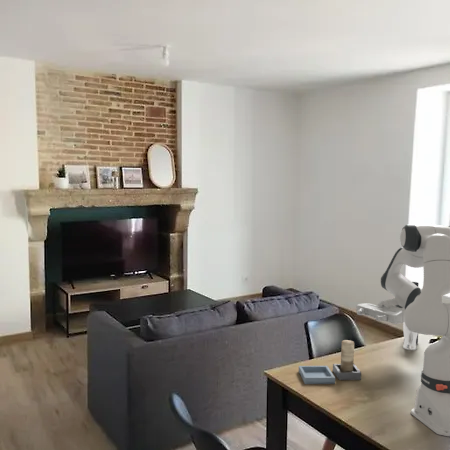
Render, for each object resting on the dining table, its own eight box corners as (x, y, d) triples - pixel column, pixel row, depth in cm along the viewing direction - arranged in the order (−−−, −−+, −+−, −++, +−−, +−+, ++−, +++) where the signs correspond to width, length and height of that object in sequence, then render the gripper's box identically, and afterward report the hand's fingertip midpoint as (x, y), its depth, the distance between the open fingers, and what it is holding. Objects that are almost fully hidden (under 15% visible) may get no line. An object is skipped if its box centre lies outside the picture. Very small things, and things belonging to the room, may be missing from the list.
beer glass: (415, 346, 240) (417, 315, 239) (419, 351, 233) (421, 320, 232) (400, 345, 241) (402, 315, 239) (404, 350, 234) (405, 319, 232)
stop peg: (354, 377, 202) (356, 344, 200) (342, 377, 201) (343, 344, 200) (350, 372, 207) (352, 340, 205) (338, 372, 206) (340, 340, 205)
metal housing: (360, 379, 200) (361, 372, 200) (338, 379, 199) (339, 372, 199) (353, 370, 209) (354, 363, 209) (332, 371, 208) (332, 364, 208)
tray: (335, 383, 196) (335, 377, 195) (304, 383, 195) (305, 377, 195) (327, 371, 208) (327, 365, 207) (298, 371, 207) (298, 365, 207)
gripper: (367, 298, 225) (348, 302, 217) (408, 309, 209) (388, 314, 201) (367, 311, 226) (347, 317, 218) (407, 323, 210) (387, 329, 201)
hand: (367, 315), depth 209 cm, fingers open, 8 cm apart
